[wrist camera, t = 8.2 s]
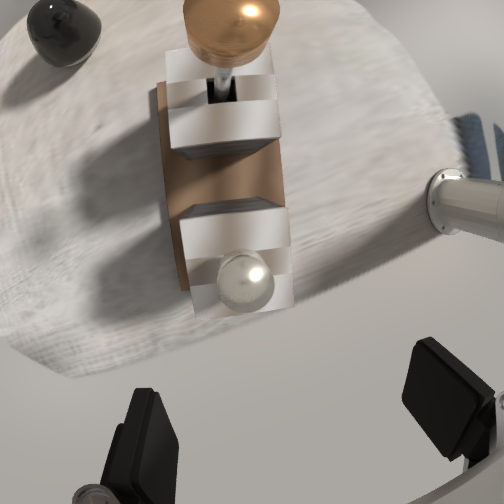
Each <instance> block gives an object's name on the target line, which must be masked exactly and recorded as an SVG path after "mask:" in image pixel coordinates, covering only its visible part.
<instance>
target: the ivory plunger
mask: <svg viewBox="0 0 504 504" xmlns="http://www.w3.org/2000/svg"><path fill="white" fill-rule="evenodd" d="M274 289H275V281H274V277H273V275H272V273H271V271H270V269H269V268H268V266H267V264H266V263H265V261H264V260H263V258H262V257H261V256H260V255H259V254H258V253H256V252H254V251H252V250H249V249H237V250H233V251H231V252H229V253H228V254H226V255H224V257H223V258H222V259H221V261H220V263H219V265H218V268H217V290H218V295H219V297H220V299H221V301H222V302H223V304H224V305H225V306H226V307H228V308H229V309H231V310H233V311H235V312H239V313H251V312H255V311H257V310H260V309H261V308H263V307H264V306H265V305H266V304H267V303H268V302H269V301H270V299H271V298H272V296H273V293H274Z"/></svg>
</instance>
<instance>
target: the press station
mask: <svg viewBox="0 0 504 504" xmlns="http://www.w3.org/2000/svg"><path fill="white" fill-rule="evenodd" d="M165 63H166V81H165V82H159V83H157V99H158V115H159V129H160V141H161V152H162V162H163V172H164V181H165V189H166V197H167V205H168V213H169V220H170V227H171V233H172V240H173V246H174V253H175V259H176V265H177V270H178V276H179V281H180V287H181V291H185V290H191V296H192V301H193V307H194V312H195V317H196V320H203V319H212V318H220V317H227V316H235V315H242V314H249V313H239V312H235V311H233V310H231V309H229V308H228V307H226V306H225V305H224V304H223V302H222V301H221V299H220V297H219V295H218V290H217V268H218V265H219V263H220V261H221V259H222V258H223V257H224V255H226V254H228V253H229V252H231V251H233V250H237V249H249V250H252V251H254V252H256V253H258V254H259V255H260V256H261V257H262V258H263V260H264V261H265V263H266V264H267V266H268V268H269V269H270V271H271V273H272V275H273V277H274V281H275V289H274V293H273V296H272V298H271V299H270V301H269V302H268V303H267V304H266V305H265V306H264V307H263V308H261V309H260V310H257V311H255V312H251V313H256V312H263V311H270V310H276V309H283V308H289V307H294V291H293V272H292V256H291V241H290V227H289V214H288V208H287V207H285V198H284V186H283V175H282V164H281V154H280V144H279V138H280V137H281V127H280V118H279V110H278V101H277V93H276V85H275V77H274V69H273V62H272V54H271V47H270V43H267V45H266V47H265V49H264V51H263V52H262V54H261V55H260V56H259V57H258V58H256V59H255V60H254V61H252V62H250V63H248V64H246V65H243V66H240V67H234V68H233V72H232V77H231V80H234V82H235V92H236V102H226V103H216V104H208V97H207V85H206V82H212V81H215V66H212V65H209V64H207V63H205V62H203V61H201V60H200V59H198V58H197V57H196V56H195V55H194V53H193V52H192V51H191V49H190V48H183V49H176V50H170V51H165Z"/></svg>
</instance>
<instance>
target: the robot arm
mask: <svg viewBox="0 0 504 504" xmlns="http://www.w3.org/2000/svg"><path fill="white" fill-rule="evenodd" d="M427 205H428V213H429V217H430V219H431V222H432V224H433V225H434V227H435V228H436V229H437V230H438V231H439V232H441V233H443V234H446V235H453V234H456V233H458V232H459V231H460V230H462V231H466V232H469V233H473V234H476V235H479V236H482V237H486V238H489V239H492V240H495V241H498V242H501V243H504V181H496V180H495V181H494V180H486V179H476V178H466V177H465V176H464V175H463V174H462V173H461V172H460V171H458V170H457V169H453V168H446V169H443V170H441V171H439V172H438V173H437V174H436V175H435V177H434V178H433V180H432V182H431V184H430V188H429V191H428V201H427ZM494 394H495V391H494V390H493V389H491V387H489V386H488V385H487V384H486V383H485V382H484V381H483V380H482V379H481V378H479V377H478V376H477V375H476V374H475V373H474V372H473V371H471V370H470V369H469V368H468V367H467V366H466V365H465V364H463V363H462V362H461V361H460V360H459V359H457V358H456V357H455V356H454V355H453V354H452V353H450V352H449V351H448V350H447V349H446V348H445V347H443V346H442V345H441V344H440V343H439V342H437V341H436V340H435V339H434V338H432V337H427V338H424V339H421V340H419V341H417V343H416V345H415V346H414V347H413V350H412V355H411V360H410V365H409V369H408V373H407V378H406V382H405V386H404V389H403V393H402V402H403V404H404V405H405V407H406V408H407V409H408V410H409V412H410V413H411V414H412V416H413V417H414V418H415V420H416V421H417V422H418V424H419V425H420V426H421V428H422V429H423V430H424V432H425V433H426V434H427V436H428V437H429V438H430V440H431V441H432V442H433V444H434V445H435V446H436V448H437V449H438V450H439V452H440V453H441V454H442V456H444V457H447V458H448V459H449V461H450V462H451V461H453V460H454V459H456V458H458V457H459V456H461V454H463V455H464V457H465V459H464V467H463V473H462V474H461V475H459V476H457V477H456V478H454V479H453V480H451V481H449V482H448V483H446V484H444V485H442V486H441V487H439V488H437V489H435V490H434V491H432V492H430V493H428V494H426V495H424V496H422V497H421V498H418V499H416V500H414V501H412V502H410V503H408V504H504V391H503V392H501V393H499V395H498V396H497V397H496V398H495V397H494ZM178 452H179V444H178V439H177V437H176V435H175V432H174V430H173V428H172V425H171V423H170V420H169V418H168V415H167V413H166V410H165V408H164V406H163V403H162V400H161V397H160V395H159V393H158V392H154V391H153V389H152V388H136V389H135V390H134V393H133V396H132V399H131V402H130V405H129V409H128V412H127V415H126V418H125V421H124V423H120V424H119V425H118V426H117V428H116V431H115V434H114V437H113V440H112V443H111V447H110V450H109V453H108V457H107V460H106V463H105V467H104V470H103V474H102V478H101V481H100V485H99V484H88V485H84V486H82V487H81V488H79V489H78V490H77V491H76V492H75V494H74V496H73V498H72V504H175V492H176V477H177V463H178Z"/></svg>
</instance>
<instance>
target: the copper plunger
mask: <svg viewBox="0 0 504 504" xmlns="http://www.w3.org/2000/svg"><path fill="white" fill-rule="evenodd" d="M183 13H184V20H185V26H186V32H187V38H188V43H189V47H190V49H191V51H192V52H193V53H194V55H195V56H196V57H197V58H198V59H200V60H201V61H203V62H205V63H207V64H209V65H212V66H215V81H212V82H206V85H207V97H208V104H216V103H226V102H236V92H235V82H234V80H231V77H232V72H233V68H234V67H240V66H243V65H246V64H248V63H250V62H252V61H254V60H255V59H256V58H258V57H259V56H260V55H261V54H262V52H263V51H264V49H265V47H266V45H267V42H268V40H269V38H270V36H271V33H272V31H273V29H274V27H275V25H276V22H277V20H278V18H279V14H280V6H279V2H278V0H185V1H184V5H183Z"/></svg>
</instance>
